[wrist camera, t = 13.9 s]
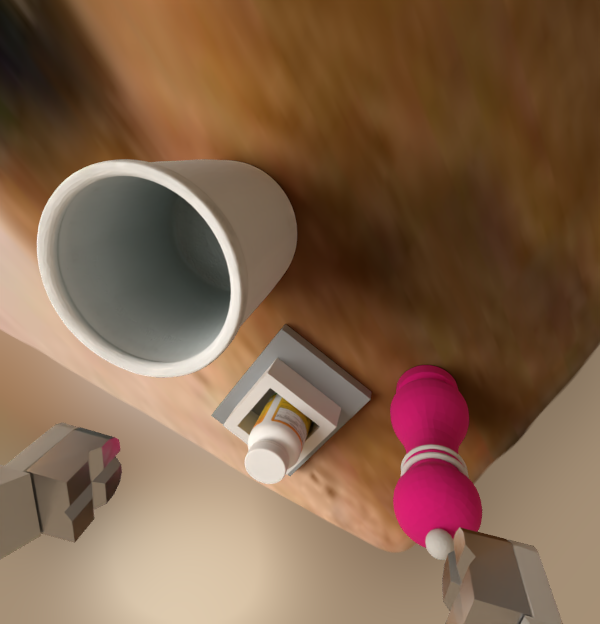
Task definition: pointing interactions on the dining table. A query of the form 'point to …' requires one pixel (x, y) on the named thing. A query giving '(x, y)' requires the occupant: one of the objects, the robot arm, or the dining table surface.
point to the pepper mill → (433, 460)
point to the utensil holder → (163, 258)
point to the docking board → (294, 391)
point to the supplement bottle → (276, 440)
